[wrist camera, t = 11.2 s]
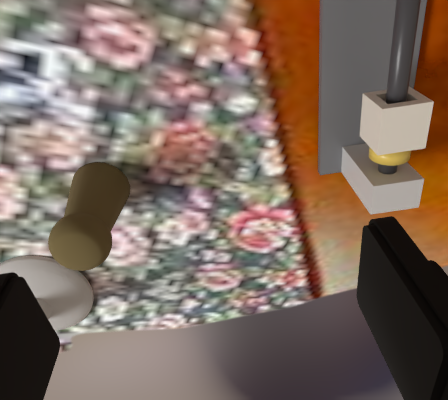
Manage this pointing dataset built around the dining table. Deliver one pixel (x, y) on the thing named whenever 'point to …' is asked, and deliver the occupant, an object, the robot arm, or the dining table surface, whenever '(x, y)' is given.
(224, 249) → the dining table surface
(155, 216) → the dining table surface
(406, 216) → the dining table surface
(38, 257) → the candlestick
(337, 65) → the grey rod stand
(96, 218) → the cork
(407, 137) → the sleeve
